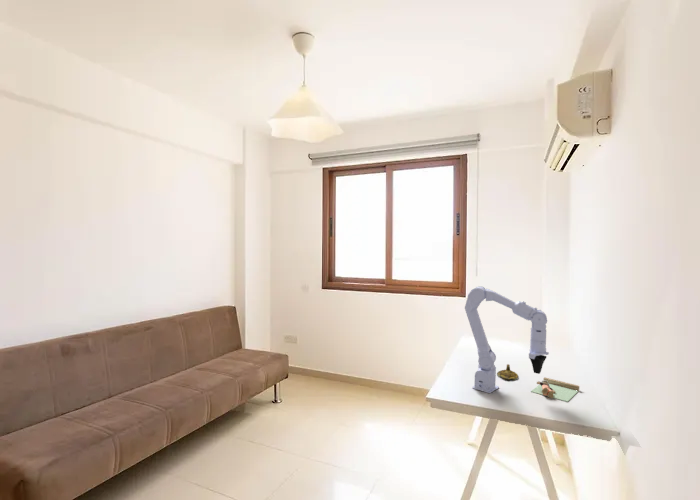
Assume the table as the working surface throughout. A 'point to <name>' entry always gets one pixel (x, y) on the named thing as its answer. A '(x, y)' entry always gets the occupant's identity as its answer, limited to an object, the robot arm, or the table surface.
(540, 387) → the felt mat
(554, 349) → the table surface
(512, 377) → the seal
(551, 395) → the grandmother figurine
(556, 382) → the beech stop strip
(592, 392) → the table surface
